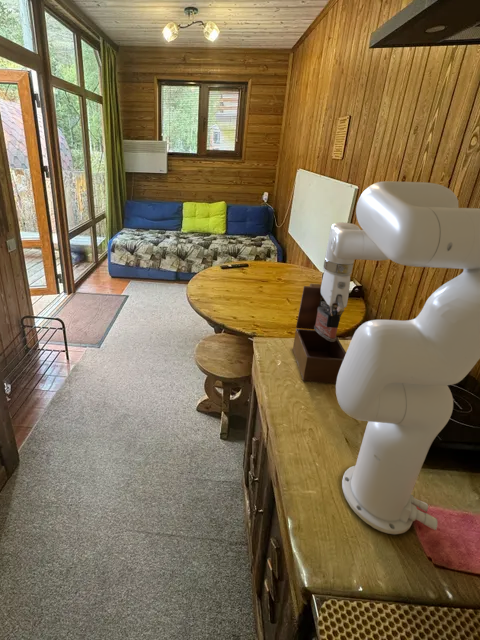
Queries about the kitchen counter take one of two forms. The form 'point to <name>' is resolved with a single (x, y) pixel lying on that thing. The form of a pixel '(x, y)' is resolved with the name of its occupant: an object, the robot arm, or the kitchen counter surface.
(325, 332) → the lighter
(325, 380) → the chest
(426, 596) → the kitchen counter surface
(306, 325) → the lid
